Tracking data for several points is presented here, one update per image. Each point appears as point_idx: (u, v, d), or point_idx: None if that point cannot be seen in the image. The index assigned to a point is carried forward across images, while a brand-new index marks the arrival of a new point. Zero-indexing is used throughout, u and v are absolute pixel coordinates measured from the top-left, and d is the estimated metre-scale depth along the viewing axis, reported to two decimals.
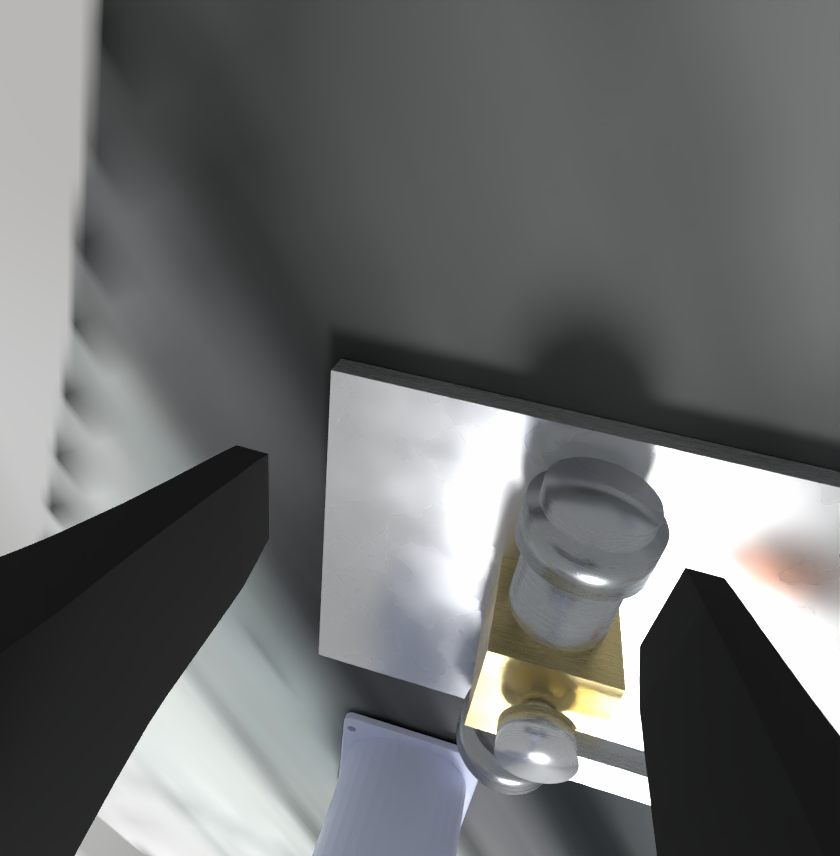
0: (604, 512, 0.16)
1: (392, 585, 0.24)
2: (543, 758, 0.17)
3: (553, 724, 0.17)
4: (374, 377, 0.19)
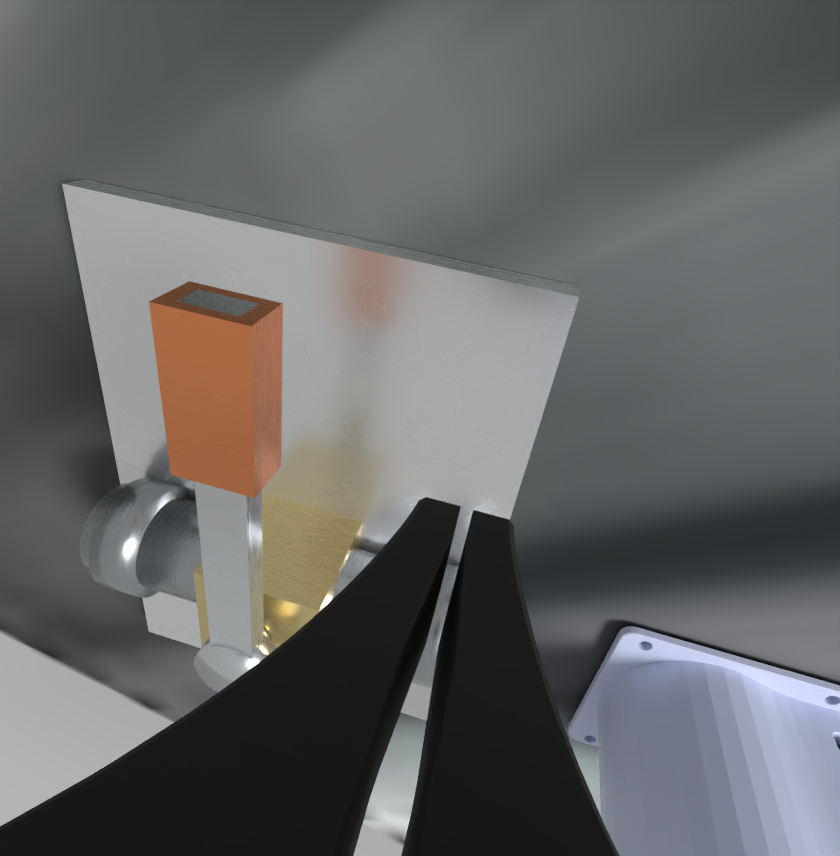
0: None
1: None
2: (225, 671, 0.18)
3: None
4: (147, 610, 0.29)
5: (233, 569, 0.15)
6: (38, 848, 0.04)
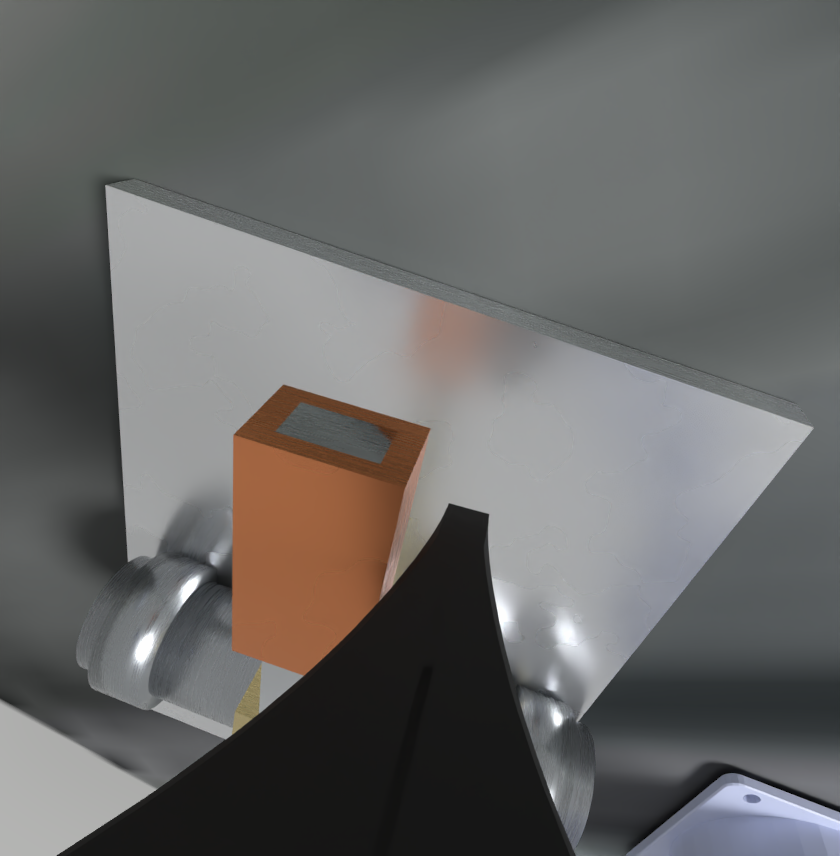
0: None
1: None
2: None
3: None
4: None
5: None
6: None
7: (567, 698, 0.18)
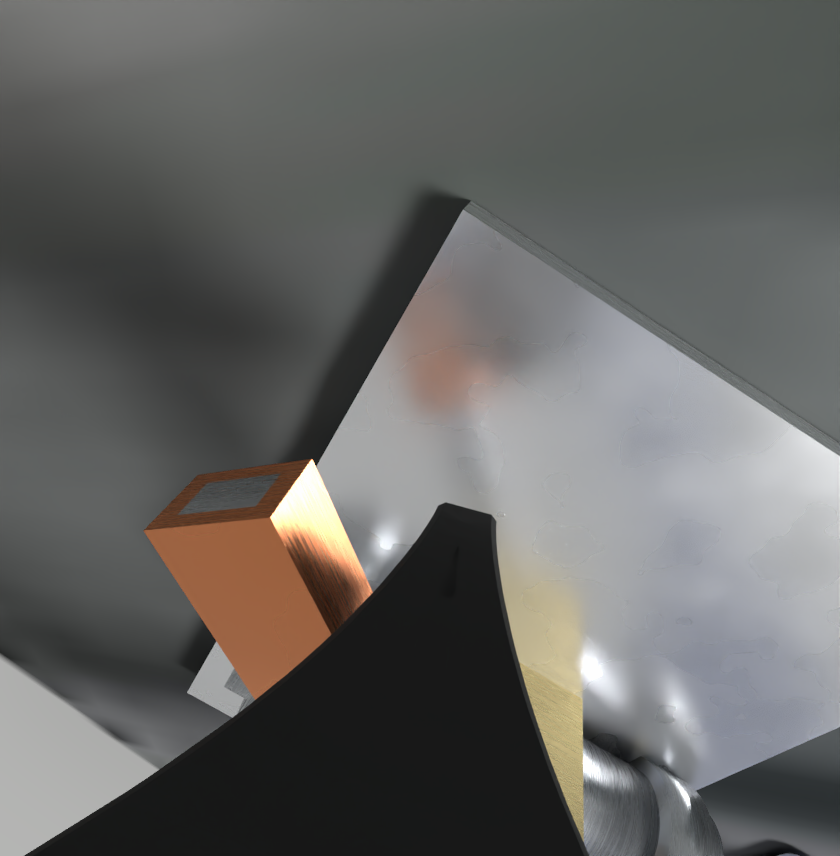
0: None
1: None
2: None
3: None
4: None
5: None
6: None
7: (685, 776, 0.18)
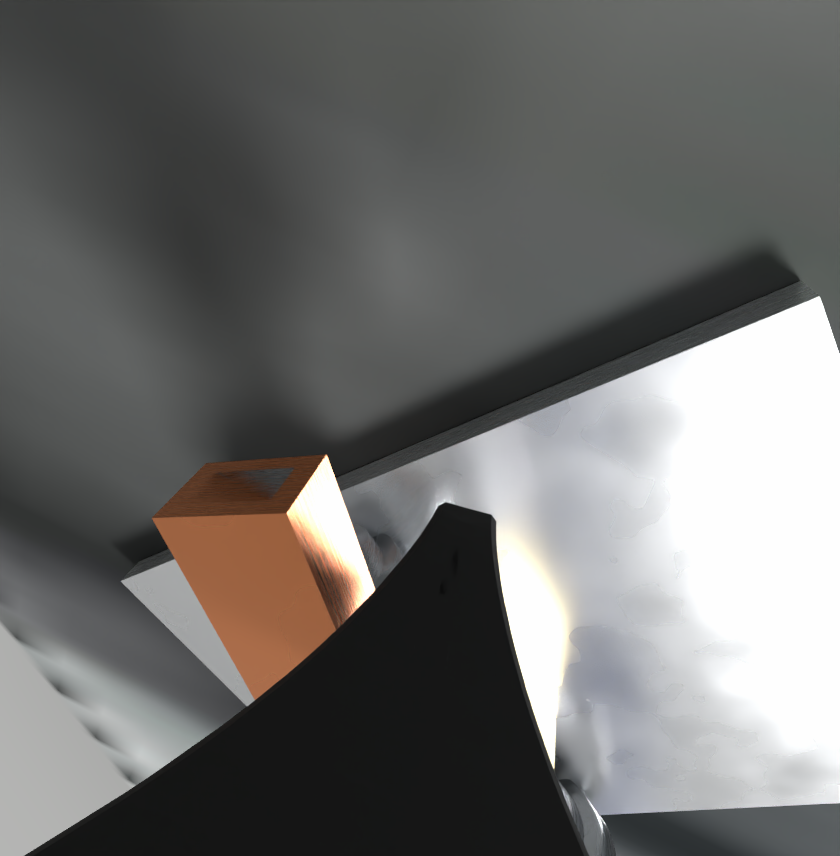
0: None
1: None
2: None
3: None
4: (148, 567, 0.20)
5: None
6: None
7: (594, 803, 0.20)
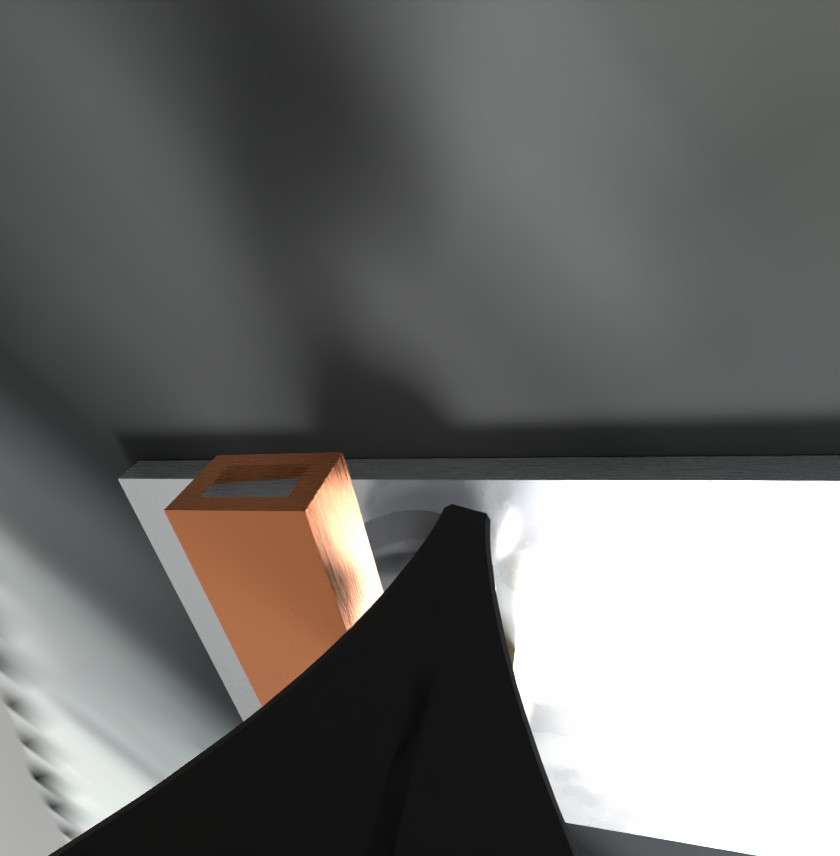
0: (388, 585, 0.13)
1: None
2: None
3: None
4: (161, 475, 0.17)
5: None
6: None
7: None
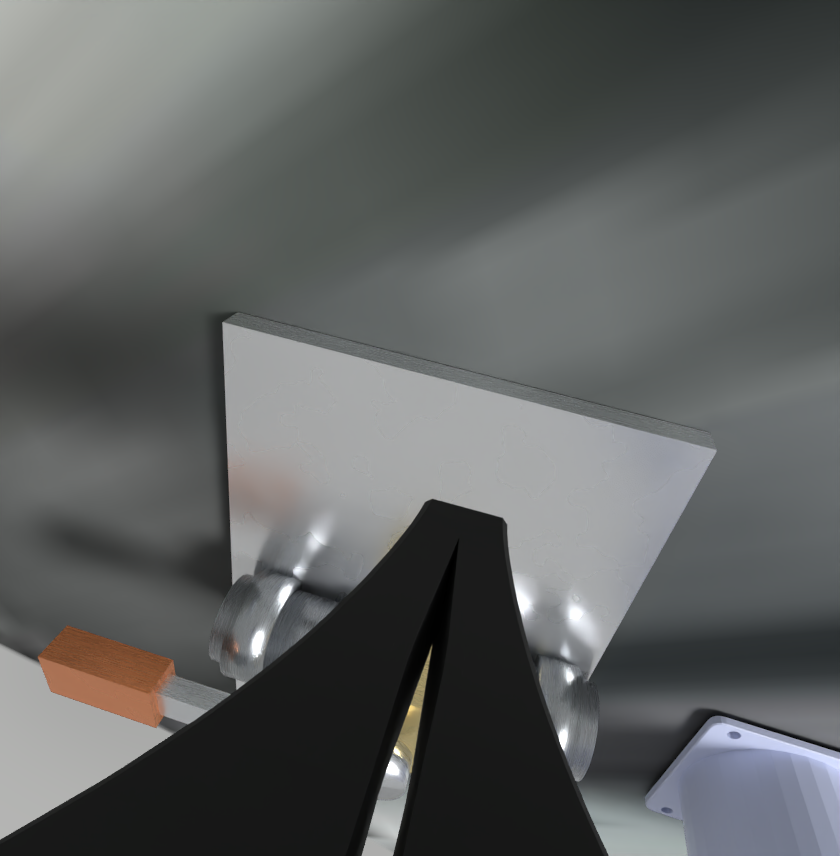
0: None
1: None
2: None
3: None
4: None
5: None
6: (52, 854, 0.03)
7: (577, 662, 0.23)
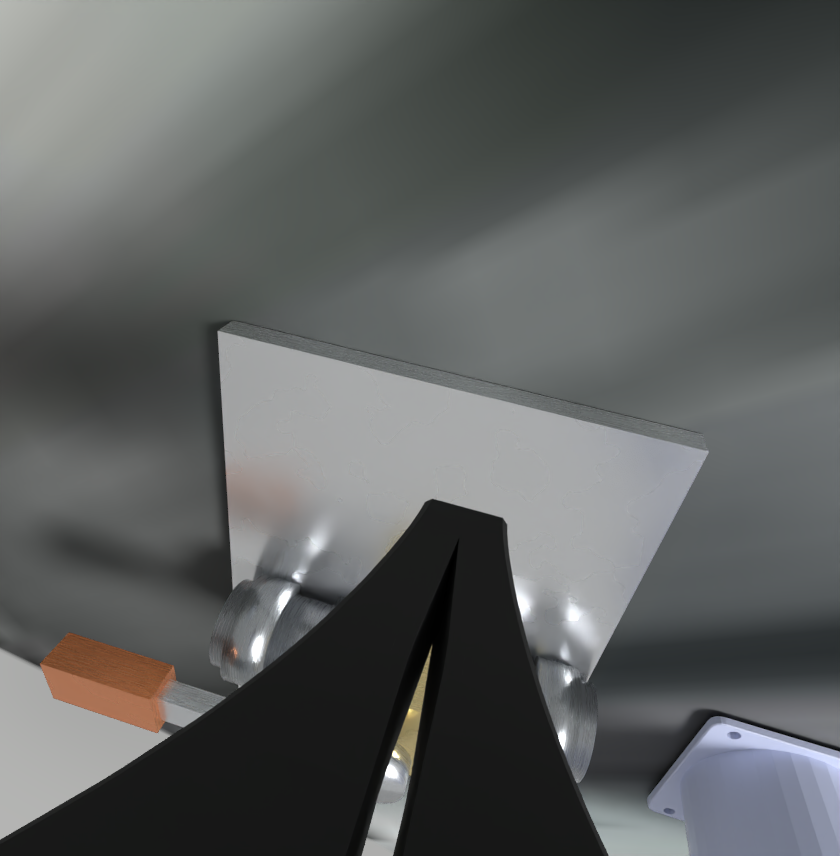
0: None
1: None
2: None
3: None
4: None
5: None
6: (53, 853, 0.03)
7: (576, 663, 0.23)
